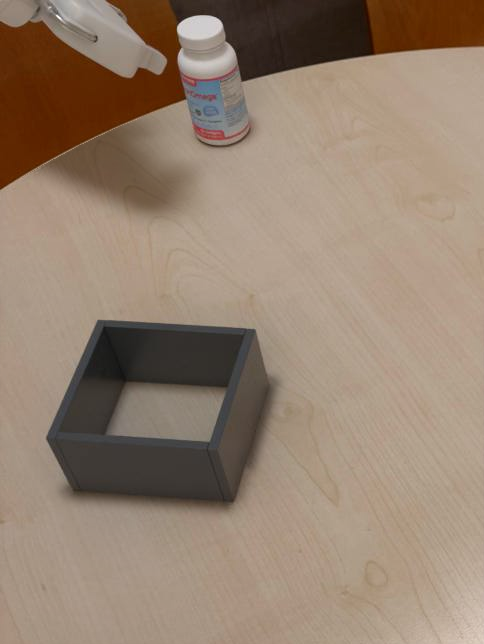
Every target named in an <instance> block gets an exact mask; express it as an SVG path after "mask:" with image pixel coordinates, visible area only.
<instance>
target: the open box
mask: <svg viewBox="0 0 484 644" xmlns="http://www.w3.org/2000/svg"><path fill="white" fill-rule="evenodd" d="M266 370H267V369H266V366H265V362H264V358H263V354H262V351H261V346H260V342H259V338H258V333H257V329H255V328H247V327H232V326H231V327H230V326H216V325H200V324H199V325H198V324H181V323H167V322H166V323H164V322H148V321H133V320H132V321H131V320H116V319H115V320H114V319H97V320H96V323H95V325H94V327H93V328H92V331H91V334H90V336H89V338H88V341H87V343H86V346H85V347H84V350H83V352H82V355H81V357H80V359H79V362H78V363H77V365H76V368H75V371H74V372H73V375H72V377H71V379H70V382H69V384H68V386H67V388H66V391H65V393H64V395H63V397H62V400H61V402H60V405H59V407H58V409H57V411H56V414H55V416H54V418H53V420H52V423H51V425H50V427H49V429H48V432H47V434H46V436H45V440H46V442H47V444H48V445H49V448H50V449H51V451H52V454H53V455H54V457H55V459H56V461H57V464H58V465H59V468H60V469H61V471H62V473H63V474H64V477H65V479H66V480H67V482H68V485H69V486H70V488H71V490H72V491H73V492H82V493H83V492H85V493H96V494H98V493H99V494H111V495H125V496H126V495H127V496H140V497H155V498H167V499H168V498H169V499H182V500H196V501H208V502H209V501H210V502H226V503H234V502H235V501H236V498H237V494H238V491H239V487H240V484H241V481H242V477H243V474H244V471H245V468H246V465H247V461H248V457H249V454H250V451H251V447H252V444H253V441H254V436H255V433H256V430H257V426H258V423H259V421H260V417H261V413H262V410H263V407H264V403H265V400H266V396H267V393H268V390H269V388H270V387H269V386H270V383H269V378H268V374H267V371H266ZM126 382H134V383H135V382H136V383H149V384H151V383H152V384H164V385H165V384H167V385H181V386H198V387H211V388H226V390H225V393H224V396H223V400H222V403H221V406H220V409H219V413H218V415H217V419H216V422H215V425H214V428H213V431H212V434H211V436H210V439H209V441H204V440H202V441H201V440H200V441H199V440H189V439H174V438H173V439H172V438H160V437H159V438H158V437H143V436H130V435H129V436H127V435H114V434H106V432H107V429H108V427H109V424H110V422H111V420H112V417H113V415H114V411H115V409H116V406H117V405H118V402H119V400H120V397H121V394H122V393H123V389H124V386H125V384H126Z"/></svg>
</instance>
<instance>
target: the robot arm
mask: <svg viewBox="0 0 484 644" xmlns="http://www.w3.org/2000/svg"><path fill="white" fill-rule="evenodd" d="M29 21H30V22H31V23H35V24H36V23H39V22H41V21H42V22H43V23H44V24H45V25H46V26H47V28H48V29H49V30H50V31H51V33H52V34H54V35H55V36H56V38H58V39H60V41H62V42H63V43H65V44H66V45H68V46H69V47H70V48H72V49H74V50H75V51H77V52H78V53H80V54H82V55H83V56H85V57H87V58H88V59H90V60H92V61H94V62H95V63H97V64H99V65H101V66H102V67H104V68H106V69H108V70H109V71H110V72H113V73H114V74H115V75H116V74H117V75H118V76H120V77H122V78H127V79H132V78H133V77H134V76H135V74H136V73H137V71H138V69H145V70H147V71H149V72H151V73H153V74H155V75H157V76H160V75H161V74H163V72H164V71H165V68H166V66H167V65H168V59H167V57H166V56H165V55H164V54H162V52H161V51H159V50H158V49H156V48H154V47H152V46H151V45H150V44H147V43H146V42H145V41H144V40H143V38H141V37H140V36H139V34H137V33H136V31H134V29H133V28H132V27H131V26H130V25H129V24H128V18H127V16H126V15H125V14H124V12H122V10H121V9H120V8H118V7H116V6H115V5H113V4H111V3H110V2H108V1H107V0H0V22H1V23H3V24H5V25H6V26H9V27H11V28H19V27H21V26H24V25H26V24H27V23H28V22H29Z"/></svg>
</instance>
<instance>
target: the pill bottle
mask: <svg viewBox="0 0 484 644" xmlns="http://www.w3.org/2000/svg"><path fill="white" fill-rule="evenodd" d="M176 33H177V37H178V42H179V44H180V46H181V48H180V50H179V52H178V53H177V65H178V70H179V74H180V78H181V83H182V87H183V91H184V96H185V97H186V103H187V107H188V111H189V115H190V119H191V123H192V127H193V130H194V134H195V136H196V137H197V138H198V139H199V140H200V141H201V142H203V143H205V144H207V145H213V146H228V145H233V144H234V143H237V142H238V141H240V140H241V139H243V138H244V137H245V136H246V135H247V134H248V132H249V130H250V126H251V122H250V116H249V112H248V107H247V101H246V95H245V92H244V91H245V90H244V87H243V86H244V85H243V82H242V77H241V73H240V67H239V63H238V58H237V54H236V51H235V49H234V48H233V46H232V45H231V44H230V43H228V42H227V41H226V38H227V37H226V32H225V28H224V25H223V22H222V21H221V20H220V19H219V18H217V17H215V16H212V15H206V14H205V15H204V14H202V15H193V16H190V17H187V18H185V19H183V20H181V21H180V22H179V23H178V24H177V27H176Z"/></svg>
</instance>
